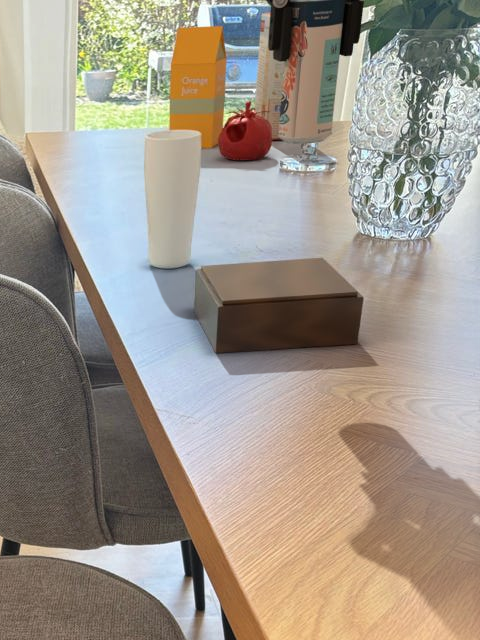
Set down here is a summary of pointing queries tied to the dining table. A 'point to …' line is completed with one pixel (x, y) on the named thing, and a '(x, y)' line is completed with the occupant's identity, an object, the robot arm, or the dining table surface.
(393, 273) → the dining table surface
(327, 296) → the walnut block
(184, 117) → the orange juice
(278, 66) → the cracker box
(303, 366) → the dining table surface
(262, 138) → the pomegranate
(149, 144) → the drinking glass
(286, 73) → the beer can
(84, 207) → the dining table surface
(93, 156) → the dining table surface
